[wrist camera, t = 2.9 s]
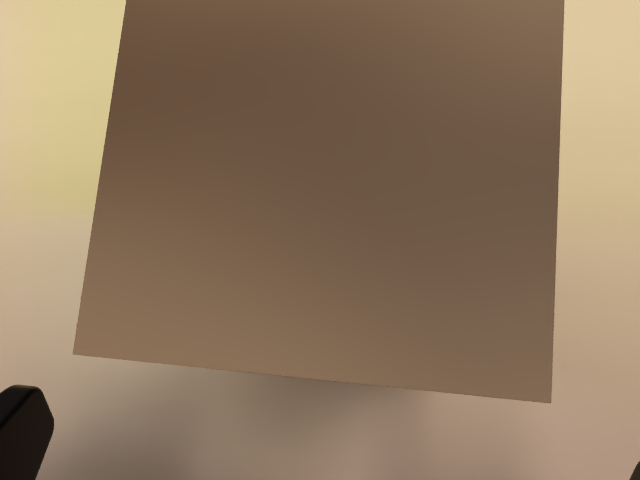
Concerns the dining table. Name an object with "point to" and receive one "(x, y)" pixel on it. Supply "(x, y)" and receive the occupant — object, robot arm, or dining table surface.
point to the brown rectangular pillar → (333, 192)
